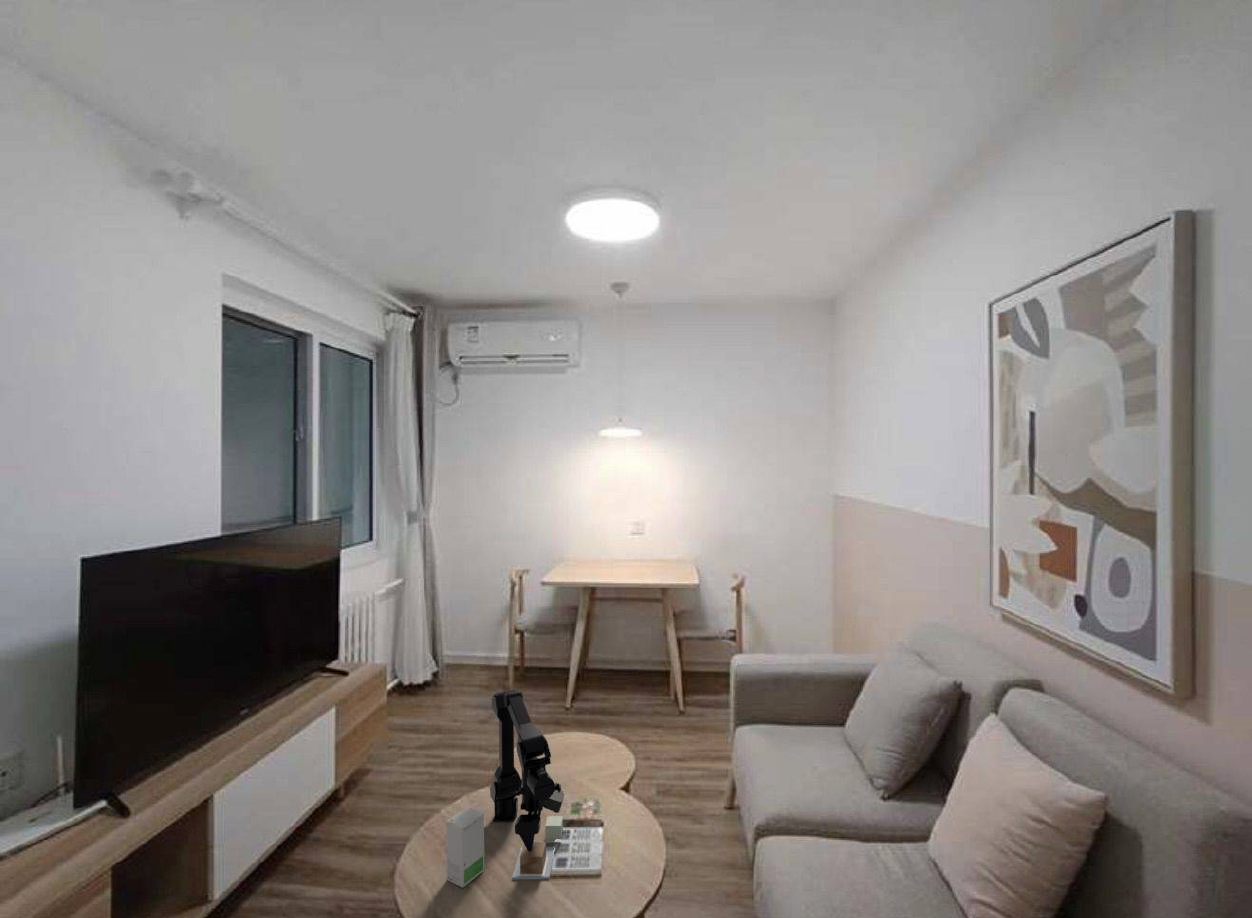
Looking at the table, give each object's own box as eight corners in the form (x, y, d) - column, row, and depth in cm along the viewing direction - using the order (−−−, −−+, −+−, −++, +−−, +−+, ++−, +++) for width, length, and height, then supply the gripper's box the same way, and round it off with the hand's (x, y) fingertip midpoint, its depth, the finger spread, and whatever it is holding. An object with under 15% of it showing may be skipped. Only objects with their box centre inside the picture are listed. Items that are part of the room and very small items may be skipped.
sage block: (545, 843, 165) (545, 825, 165) (547, 833, 170) (547, 816, 170) (561, 843, 165) (560, 825, 165) (563, 832, 170) (562, 816, 170)
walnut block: (520, 873, 152) (519, 856, 152) (524, 858, 158) (524, 842, 158) (542, 873, 152) (542, 856, 152) (546, 858, 158) (545, 842, 158)
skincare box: (462, 889, 148) (461, 828, 148) (444, 879, 151) (444, 821, 151) (485, 869, 155) (485, 812, 155) (469, 861, 158) (468, 804, 158)
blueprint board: (512, 879, 151) (511, 876, 151) (520, 849, 163) (520, 846, 163) (549, 879, 151) (549, 876, 151) (555, 848, 163) (555, 846, 163)
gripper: (557, 801, 145) (558, 862, 145) (565, 763, 164) (566, 818, 164) (513, 801, 146) (514, 863, 145) (527, 764, 164) (528, 818, 164)
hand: (533, 839), depth 155 cm, fingers open, 9 cm apart
